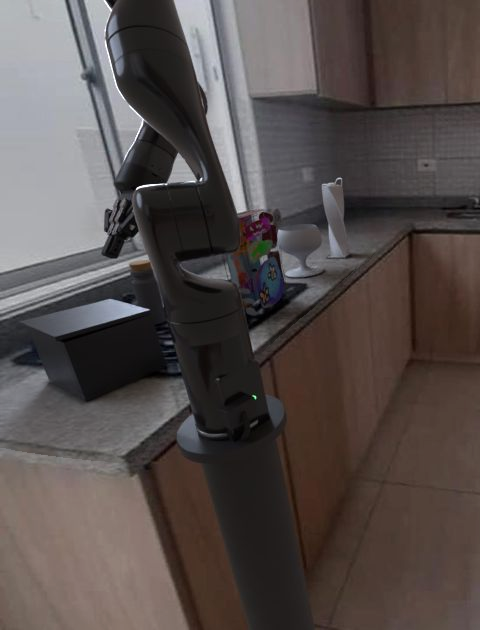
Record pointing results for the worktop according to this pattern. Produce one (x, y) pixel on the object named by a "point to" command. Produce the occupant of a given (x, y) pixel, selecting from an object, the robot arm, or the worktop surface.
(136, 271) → the bottle
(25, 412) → the worktop surface
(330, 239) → the skyscraper
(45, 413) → the worktop surface
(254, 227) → the box
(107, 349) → the dark grey lidded box
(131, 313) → the dark grey box lid
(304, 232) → the chalice
